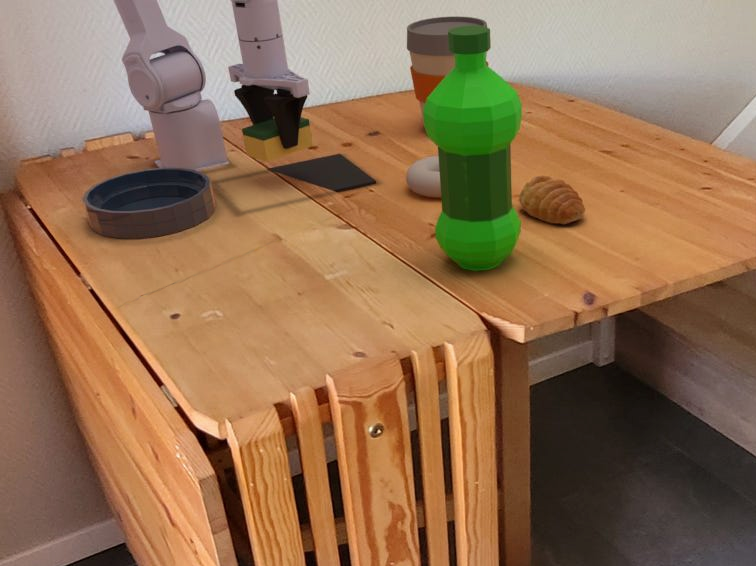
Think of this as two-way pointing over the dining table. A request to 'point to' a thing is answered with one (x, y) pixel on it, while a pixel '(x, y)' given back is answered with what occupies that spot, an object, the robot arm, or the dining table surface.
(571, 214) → the pastry
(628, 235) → the dining table surface
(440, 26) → the reusable coffee cup
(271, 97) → the robot arm
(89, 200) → the bowl
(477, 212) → the plastic bottle
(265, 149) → the sponge
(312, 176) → the drying mat
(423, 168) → the donut
